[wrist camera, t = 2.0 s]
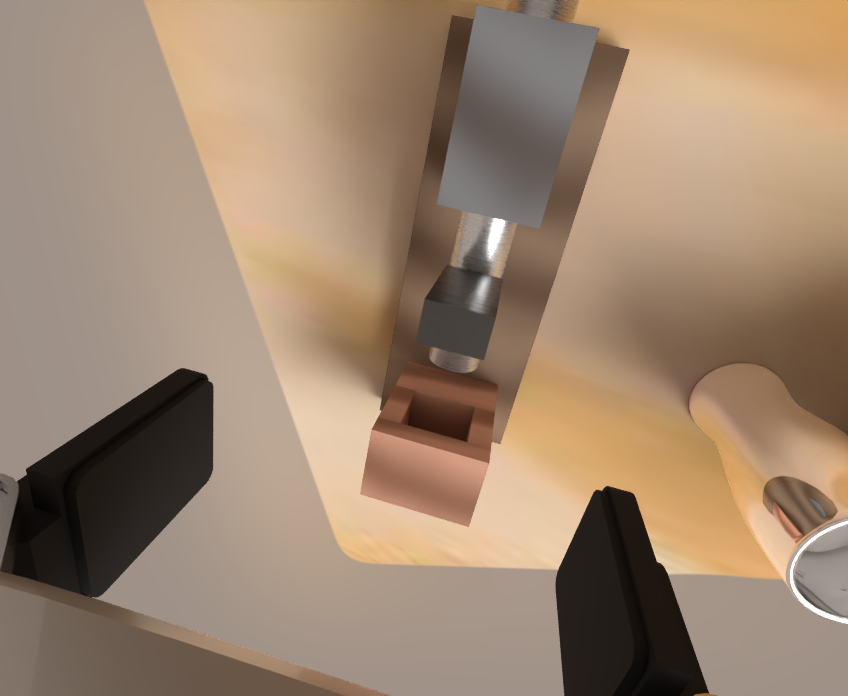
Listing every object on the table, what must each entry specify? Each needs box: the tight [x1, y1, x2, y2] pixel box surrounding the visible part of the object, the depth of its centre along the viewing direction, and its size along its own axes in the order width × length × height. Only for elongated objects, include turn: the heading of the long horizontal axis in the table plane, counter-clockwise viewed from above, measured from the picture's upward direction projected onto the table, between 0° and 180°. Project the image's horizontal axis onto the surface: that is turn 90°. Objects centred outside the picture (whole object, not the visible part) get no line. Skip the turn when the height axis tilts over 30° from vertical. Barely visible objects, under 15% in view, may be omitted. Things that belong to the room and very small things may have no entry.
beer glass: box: [689, 363, 848, 624], centre depth 27 cm, size 7×7×15 cm
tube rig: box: [360, 5, 630, 527], centre depth 28 cm, size 27×10×11 cm, turn 169°
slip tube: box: [416, 0, 579, 373], centre depth 22 cm, size 19×3×9 cm, turn 169°
